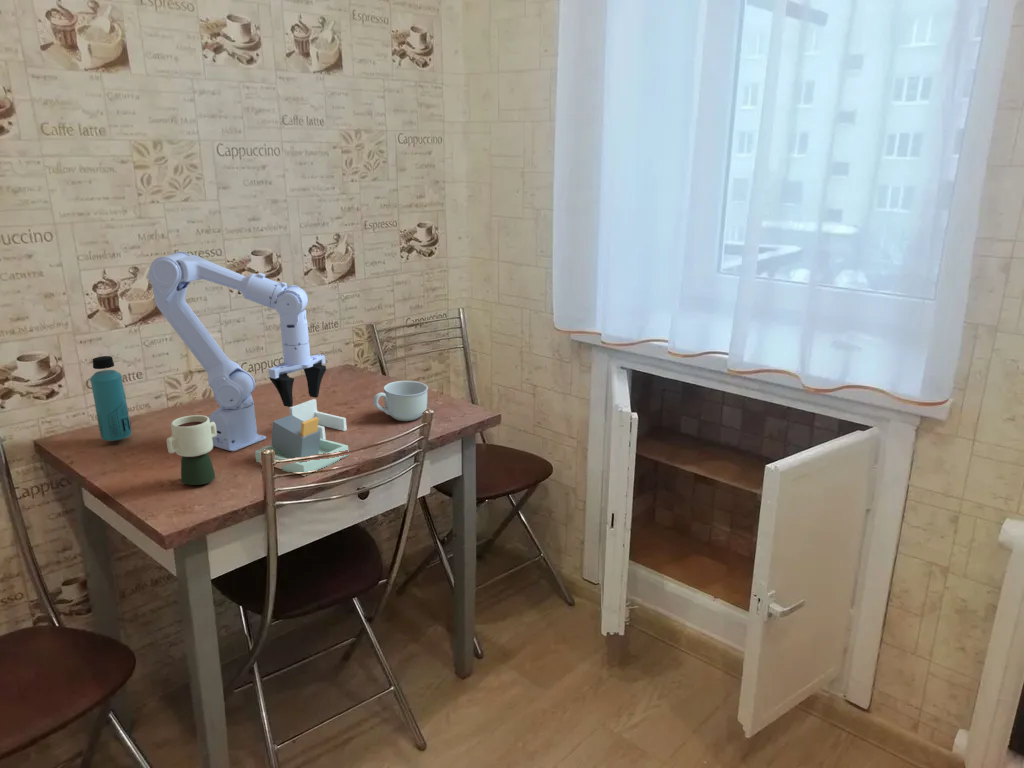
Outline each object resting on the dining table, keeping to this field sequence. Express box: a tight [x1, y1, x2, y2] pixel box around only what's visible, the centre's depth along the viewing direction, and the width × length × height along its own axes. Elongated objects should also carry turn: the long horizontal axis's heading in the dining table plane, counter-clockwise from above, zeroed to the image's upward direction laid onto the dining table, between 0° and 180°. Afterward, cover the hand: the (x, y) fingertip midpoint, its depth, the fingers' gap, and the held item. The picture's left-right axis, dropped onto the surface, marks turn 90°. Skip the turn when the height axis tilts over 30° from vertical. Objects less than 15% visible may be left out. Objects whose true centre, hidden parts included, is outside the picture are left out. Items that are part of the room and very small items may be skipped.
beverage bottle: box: [89, 355, 133, 442], centre depth 165 cm, size 6×7×20 cm
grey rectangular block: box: [270, 414, 321, 463], centre depth 156 cm, size 5×9×9 cm, turn 58°
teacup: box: [372, 380, 429, 422], centre depth 181 cm, size 14×11×8 cm
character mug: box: [166, 414, 217, 486], centre depth 145 cm, size 11×7×13 cm, turn 150°
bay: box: [288, 398, 347, 440], centre depth 173 cm, size 8×10×6 cm
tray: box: [254, 438, 350, 473], centre depth 157 cm, size 13×15×2 cm
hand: (301, 401), depth 165 cm, fingers open, 7 cm apart
